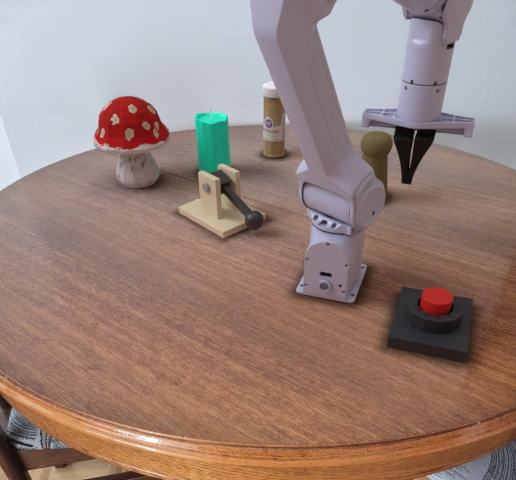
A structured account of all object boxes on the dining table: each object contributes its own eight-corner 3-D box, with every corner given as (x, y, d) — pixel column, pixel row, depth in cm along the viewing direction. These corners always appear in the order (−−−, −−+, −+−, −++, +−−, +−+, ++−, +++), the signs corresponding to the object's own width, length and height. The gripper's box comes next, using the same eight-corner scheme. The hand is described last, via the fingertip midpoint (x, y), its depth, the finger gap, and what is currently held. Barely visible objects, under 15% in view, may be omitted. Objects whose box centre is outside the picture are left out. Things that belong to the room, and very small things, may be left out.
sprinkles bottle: (260, 157, 110) (259, 86, 101) (267, 149, 113) (267, 79, 104) (281, 160, 108) (282, 88, 100) (288, 151, 112) (289, 81, 103)
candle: (193, 176, 103) (187, 110, 95) (210, 164, 107) (205, 100, 99) (220, 181, 101) (216, 115, 93) (236, 169, 105) (233, 105, 97)
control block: (464, 363, 63) (472, 340, 60) (386, 347, 65) (390, 324, 63) (470, 309, 70) (476, 286, 68) (400, 296, 73) (404, 274, 70)
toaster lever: (265, 230, 86) (270, 216, 83) (250, 236, 84) (255, 223, 82) (219, 181, 89) (223, 166, 87) (205, 186, 88) (208, 172, 85)
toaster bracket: (265, 220, 89) (265, 174, 84) (223, 239, 85) (220, 192, 80) (220, 196, 96) (217, 153, 91) (178, 213, 92) (173, 168, 87)
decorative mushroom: (191, 175, 103) (183, 92, 94) (144, 204, 94) (130, 115, 85) (134, 161, 109) (121, 81, 99) (85, 188, 100) (65, 102, 90)
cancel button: (449, 319, 64) (452, 307, 63) (417, 313, 65) (420, 301, 64) (451, 301, 66) (454, 290, 65) (421, 296, 67) (424, 284, 66)
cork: (386, 205, 93) (396, 141, 86) (351, 202, 94) (358, 138, 87) (387, 190, 97) (397, 127, 90) (353, 187, 98) (360, 125, 91)
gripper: (484, 75, 70) (460, 176, 79) (372, 67, 74) (361, 164, 83) (483, 91, 65) (457, 196, 74) (363, 81, 69) (352, 183, 78)
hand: (406, 181), depth 78 cm, fingers closed
